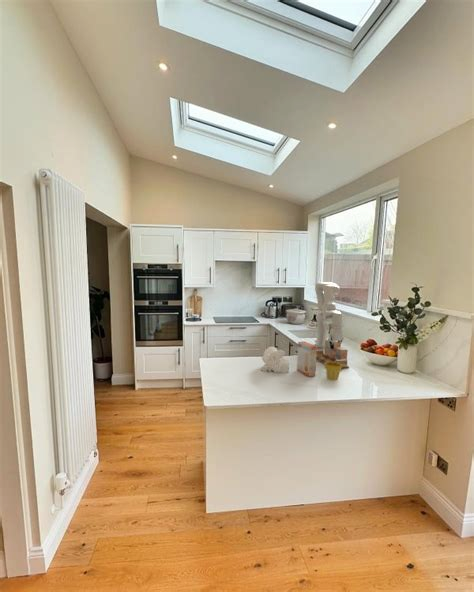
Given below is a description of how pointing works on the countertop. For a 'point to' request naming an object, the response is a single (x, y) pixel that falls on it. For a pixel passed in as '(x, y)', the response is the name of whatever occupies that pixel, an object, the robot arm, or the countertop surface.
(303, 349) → the cracker box
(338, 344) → the stack of blocks
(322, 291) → the robot arm
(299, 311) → the chamber pot
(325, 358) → the cradle
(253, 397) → the countertop surface
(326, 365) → the plant pot
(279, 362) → the cauliflower
